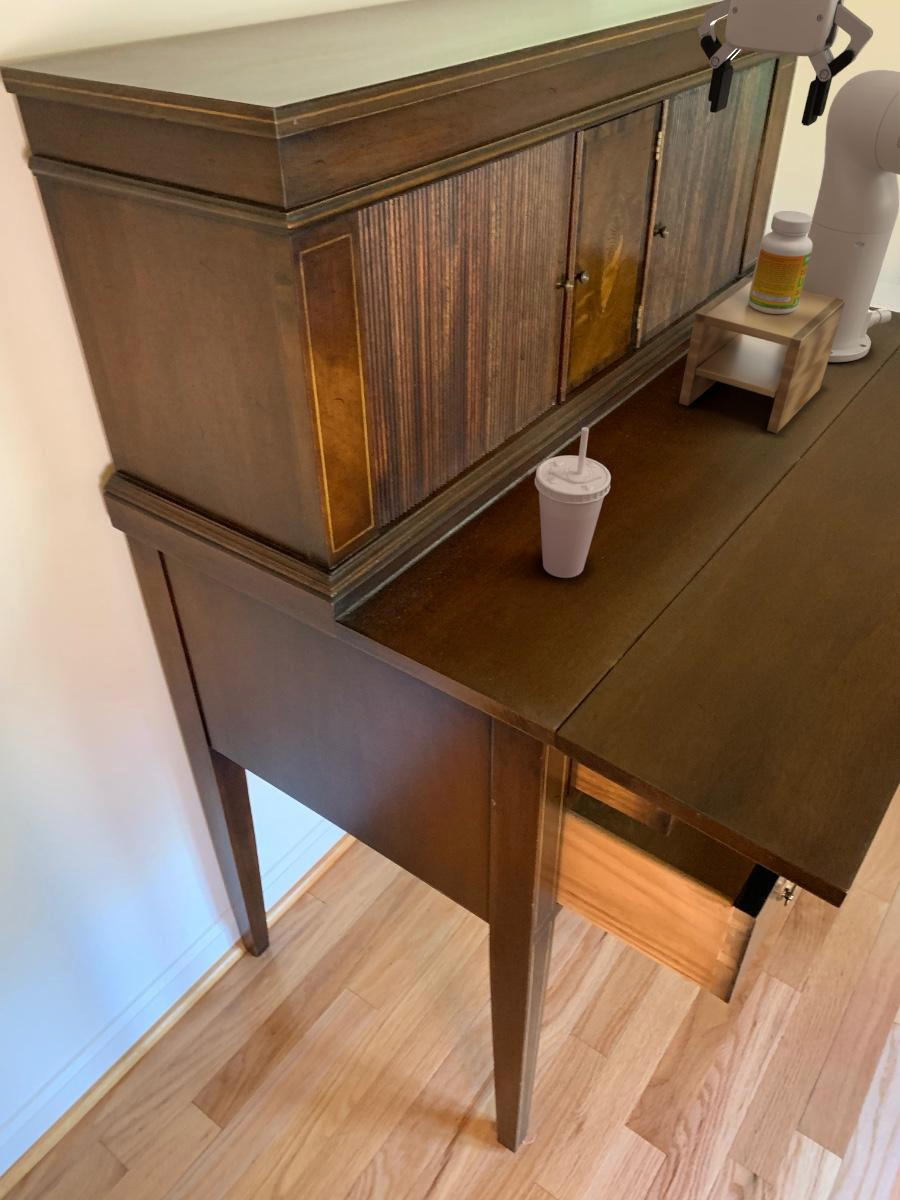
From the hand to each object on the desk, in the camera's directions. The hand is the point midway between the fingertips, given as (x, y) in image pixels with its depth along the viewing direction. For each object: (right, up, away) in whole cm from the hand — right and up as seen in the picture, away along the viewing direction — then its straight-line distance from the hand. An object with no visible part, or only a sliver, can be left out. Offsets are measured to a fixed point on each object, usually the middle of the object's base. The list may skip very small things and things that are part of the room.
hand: (762, 116), depth 95 cm
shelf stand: (+4, -26, +15) cm, 30 cm away
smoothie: (-22, -47, -11) cm, 53 cm away
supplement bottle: (+4, -17, +8) cm, 19 cm away
